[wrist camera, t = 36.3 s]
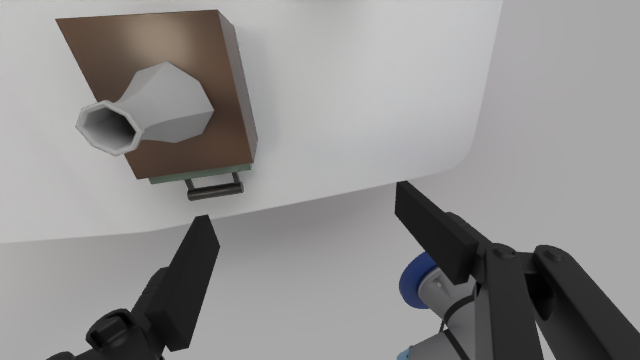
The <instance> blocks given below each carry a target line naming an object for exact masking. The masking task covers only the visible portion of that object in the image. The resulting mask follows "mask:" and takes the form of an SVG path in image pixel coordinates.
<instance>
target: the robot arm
mask: <svg viewBox="0 0 640 360" xmlns="http://www.w3.org/2000/svg"><path fill="white" fill-rule="evenodd" d="M395 214H396V216H397V217H398V218H399V220H401V222H402V223H403V224H404V225H405V227H406V228H407V229H408V230H409V232H410V233H411V234H412V235H413V236H414V238H415V239H416V240H417V241H418V243H419V244H420V245H421V246H422V247H423V249H424V250H425V251H426V252H427V253H428V255H429V256H430V257H431V258H432V259H433V261H434V262H435V263H436V264H437V265H435V266H433V267H432V268H430V269H429V270H428V271H426V272H425V273H424V274H423V275H422V277H421V278H420V280H419V281H418V283H417V287H416V292H417V294H418V296H419V298H420V299H421V301H422V302H423V303H424V304H425V305H427V306H428V307H429V308H430V309H431V310H432V311H433V312H435V313H436V314H437V315H438V316H439V317H440V318H441V319H442V324H441V327H440V331H439V333H438V334H436V335H434V336H432V337H430V338H428V339H426V340H424V341H422V342H420V343H418V344H416V345H414V346H410V347H409V348H408V349H407V350H405V351H403V352H402V353H400V354H399V355H398V356H397V360H544V358H543V354H542V349H541V345H540V341H539V336H538V332H537V328H536V323H535V321H536V322H537V324H538V326H539V328H540V330H541V332H542V334H543V336H544V338H545V340H546V341H547V343H548V345H549V347H550V349H551V351H552V353H553V355H554V357H555V358H556V360H640V333H639V332H638V331H637V330H636V329H635V328H634V326H633V325H632V324H631V323H630V322H629V321H628V320H627V319H626V317H624V315H623V314H622V313H621V312H620V311H619V309H618V308H617V307H616V306H615V305H614V304H613V303H612V301H611V300H610V299H609V298H608V297H607V296H606V295H605V293H604V292H603V291H602V290H601V289H600V288H599V287H598V286H597V284H596V283H595V282H594V281H593V280H592V279H591V278H590V276H589V275H588V274H587V273H586V272H585V271H584V270H583V268H582V267H581V266H580V265H579V264H578V263H577V262H576V261H575V259H574V258H573V257H572V256H570V255H569V254H568V253H567V252H565V251H563V250H561V249H559V248H556V247H554V246H549V245H539V246H537V247H536V248H535V251H534V253H527V252H516V251H515V250H514V249H512V248H511V247H509V246H507V245H504V244H500V243H492V242H491V241H490V240H488V239H487V238H486V237H484V236H483V235H482V234H481V233H479V232H478V231H477V230H476V229H474V228H473V227H471V226H470V224H468V223H466V222H465V220H463V219H462V218H461V217H459V216H458V215H456V214H453V213H451V212H446V213H444V212H443V211H442V210H441V209H440V208H438V207H437V206H436V205H435V204H434V203H432V202H431V201H430V200H429V199H428V198H427V197H426V196H424V195H423V194H422V193H421V192H420V191H418V190H417V189H416V188H415V187H414V186H413V185H411V184H410V183H409V182H408V181H401V182H397V186H396V201H395ZM219 249H220V245H219V242H218V240H217V237H216V235H215V232H214V229H213V226H212V224H211V221H210V219H209V216H208V215H203V216H197V217H195V219H194V221H193V223H192V225H191V227H190V228H189V230H188V232H187V234H186V236H185V238H184V239H183V241H182V243H181V245H180V247H179V249H178V251H177V253H176V254H175V256H174V258H173V260H172V262H171V264H170V265H169V267H164V268H160V269H159V270H158V271H157V272H156V273H155V274H154V275H153V276H152V277H151V279H150V280H149V282H148V284H147V286H146V288H145V289H144V291H143V292H142V295H141V296H140V297H139V299H138V301H137V302H136V304H135V306H134V308H133V309H132V311H131V312H129V311H128V310H127V309H117V310H114V311H111V312H110V313H108V314H106V315H104V316H103V317H101V318H100V319H99V320H98V321H96V322H95V324H93V326H92V327H91V328H90V329H89V331H88V332H87V334H86V341H87V342H88V343H89V344H90V345H91V346H92V347H93V349H91V350H88V351H86V352H84V353H82V354H80V355H78V356H76V357H75V356H74V355H73V354H72V353H70V352H60V353H58V354H56V355H53V356H51V357H50V358H48V359H46V360H165V359H164V357H163V356H162V352H163V350H164V347H165V345H166V346H167V348H168V349H169V350H170V352H173V351H177V350H181V349H186V348H189V345H190V342H191V339H192V335H193V332H194V329H195V326H196V323H197V319H198V316H199V313H200V310H201V306H202V303H203V300H204V297H205V294H206V290H207V287H208V284H209V280H210V277H211V274H212V271H213V268H214V264H215V261H216V258H217V255H218V252H219ZM444 324H446V326H447V327H448V329H447V330H444V331H443V328H444Z"/></svg>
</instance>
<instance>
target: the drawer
mask: <svg viewBox="0 0 640 360" xmlns="http://www.w3.org/2000/svg"><path fill="white" fill-rule="evenodd" d="M251 167H252V163H249V164H242V165H235V166H228V167H221V168H214V169H207V170H200V171H193V172H186V173H179V174H172V175H165V176H158V177H151V178H149V181H150V183H151V184H157V183H164V182H171V181H178V180H185V183H186V185H187V187H188V192H187V196H188V199H189V200H190V201H194V200H200V199H206V198H213V197H219V196H225V195H232V194H238V193H243V192H244V187H243V183H242V182H240V180H239V177H238V173H237V172H239V171H246V170H251ZM226 173H232V175H233V179H234V183H228V184H221V185H214V186H208V187H201V188H194V186H193V183H192V180H191V178H198V177H205V176H212V175H219V174H226Z"/></svg>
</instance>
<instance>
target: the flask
mask: <svg viewBox="0 0 640 360" xmlns="http://www.w3.org/2000/svg"><path fill="white" fill-rule="evenodd" d="M213 112H214V109H213V107H212V105H211V103H210V101H209V99H208V98H207V96H206V94H205V92H204V90H203V88H202V86H201V84H200V82H199V81H198V80H196V79H195V78H193V77H191V76H190V75H188V74H187V73H185V72H183V71H182V70H180V69H179V68H177V67H175V66H174V65H172V64H171V63H169V62H164V63H161V64H158V65H155V66H152V67H149V68H146V69H143V70H140V71H137V72H136V74H135V75H134V77H133V79H132V81H131V83H130V85H129V87H128V88H127V90H126V91H125V93H124V94H123V96H122V97H121V99H119V100H118V101H116V102H115V103H112V102H110V101H108V100H104V101H101V102H98V103H95V104H92V105H90V106H87V107H84V108H82V109H81V112H80V115H79V117H78V120H77V123H76V126H75V127H76V128H77V129H78V130H79V132H80V133H81V134H82V135H83V136H84V137H85V139H86V140H87V141H88V142H89V143H90V145H91V146H93V147H95V148H97V149H100V150H102V151H104V152H107V153H109V154H111V155H114V156H118V155H121V154H124V153H127V152H130V151H133V150H135V149H137V148H138V146H139V143H140V141H141V140H157V141H165V142H171V143H177V142H180V141H183V140H186V139H188V138H191V137H194V136H197V135H200V134H202V133H203V131H204V129H205V127H206V125H207V123H208V121H209V120H210V118H211V116H212V114H213Z"/></svg>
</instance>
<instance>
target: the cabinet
mask: <svg viewBox="0 0 640 360" xmlns="http://www.w3.org/2000/svg"><path fill="white" fill-rule="evenodd" d="M55 20H56V22H57V24H58V26H59V28H60V30H61V32H62V34H63V36H64V38H65V40H66V42H67V43H68V45H69V47H70V49H71V51H72V53H73V55H74V57H75V59H76V61H77V63H78V65H79V67H80V69H81V71H82V73H83V75H84V77H85V79H86V81H87V83H88V85H89V87H90V88H91V90H92V92H93V94H94V96H95V98H96V100H97V102H101V101H104V100H108V101H110V102H112V103H115V102H116V101H118V100H119V99H121V97H122V96H123V94H124V93H125V91H126V90H127V88H128V87H129V85H130V83H131V81H132V79H133V77H134V75H135V74H136V72H137V71H140V70H143V69H146V68H149V67H152V66H155V65H158V64H161V63H164V62H169V63H171V64H172V65H174V66H175V67H177V68H179V69H180V70H182V71H183V72H185V73H187V74H188V75H190V76H191V77H193V78H195V79H196V80H198V81H199V82H200V84H201V86H202V88H203V90H204V92H205V94H206V96H207V98H208V99H209V101H210V103H211V105H212V107H213V109H214V112H213V114H212V116H211V118H210V120H209V121H208V123H207V125H206V127H205V129H204V131H203V133H202V134H200V135H197V136H194V137H191V138H188V139H186V140H183V141H180V142H177V143H171V142H165V141H157V140H141V141H140V143H139V146H138V148H137V149H135V150H133V151H130V152H127V153H124V155H125V157H126V159H127V161H128V163H129V165H130V167H131V169H132V171H133V173H134V175H135V177H136V178H137V179H144V178H151V177H158V176H165V175H172V174H179V173H186V172H193V171H200V170H207V169H214V168H221V167H228V166H235V165H242V164H249V163H253V162H254V157H255V151H256V146H257V141H258V137H257V133H256V128H255V123H254V118H253V114H252V109H251V104H250V100H249V95H248V90H247V86H246V81H245V76H244V71H243V67H242V62H241V57H240V53H239V48H238V43H237V39H236V34H235V29H234V26H233V25H232V24H231V23H230V22H229V21H228V20H227V19H226V18H225V17H224V16H223V15H222V14H221V13H220V12H219V11H218V10H201V11H184V12H166V13H149V14H132V15H114V16H97V17H79V18H62V19H55Z"/></svg>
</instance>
